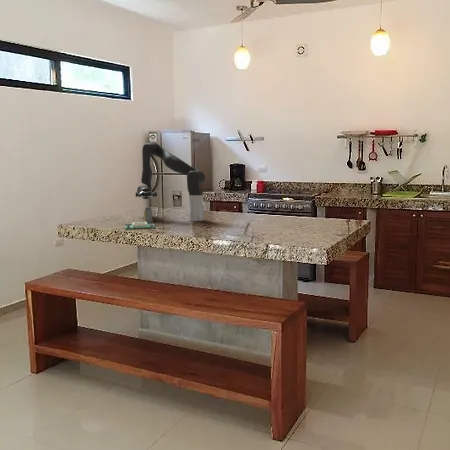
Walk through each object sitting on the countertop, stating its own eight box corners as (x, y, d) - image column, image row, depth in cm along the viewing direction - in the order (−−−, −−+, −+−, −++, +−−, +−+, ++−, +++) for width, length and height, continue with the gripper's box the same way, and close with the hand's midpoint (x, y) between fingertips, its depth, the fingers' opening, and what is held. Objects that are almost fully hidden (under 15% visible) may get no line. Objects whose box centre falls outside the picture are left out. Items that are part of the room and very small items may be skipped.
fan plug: (152, 223, 329) (151, 206, 328) (152, 224, 325) (151, 207, 323) (144, 223, 328) (143, 207, 327) (144, 224, 324) (143, 207, 323)
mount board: (153, 225, 323) (153, 220, 322) (155, 228, 309) (155, 223, 308) (125, 226, 319) (124, 221, 319) (125, 229, 306) (124, 224, 305)
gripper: (135, 187, 349) (135, 189, 333) (155, 187, 351) (157, 189, 336) (135, 198, 350) (135, 201, 334) (156, 198, 353) (157, 200, 337)
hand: (146, 195), depth 335 cm, fingers open, 8 cm apart
